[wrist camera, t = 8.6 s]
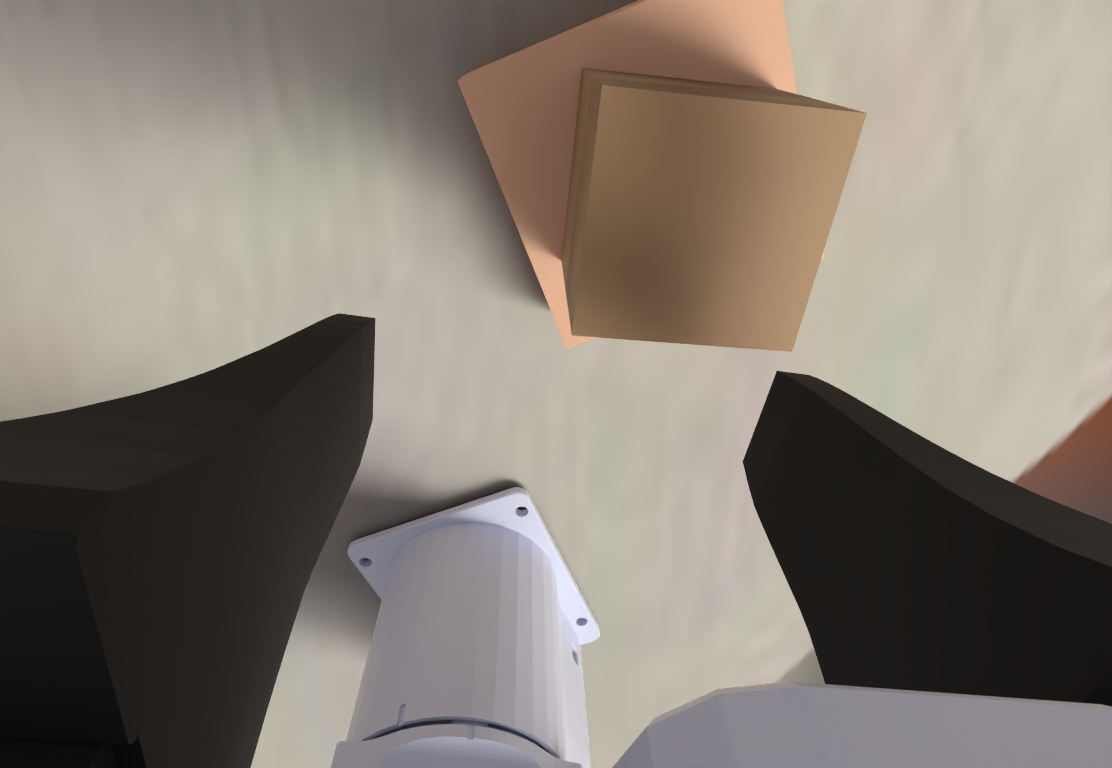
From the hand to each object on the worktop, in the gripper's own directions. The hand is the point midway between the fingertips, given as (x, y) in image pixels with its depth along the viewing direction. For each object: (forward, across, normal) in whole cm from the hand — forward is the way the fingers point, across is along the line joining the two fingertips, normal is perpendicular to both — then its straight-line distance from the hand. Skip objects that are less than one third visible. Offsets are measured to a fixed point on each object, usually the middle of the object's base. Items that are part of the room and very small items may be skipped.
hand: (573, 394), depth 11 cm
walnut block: (+8, -2, -2) cm, 9 cm away
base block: (+11, -2, -3) cm, 11 cm away
